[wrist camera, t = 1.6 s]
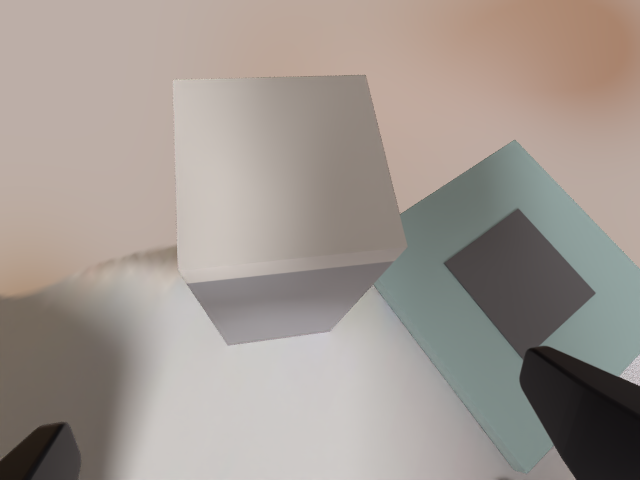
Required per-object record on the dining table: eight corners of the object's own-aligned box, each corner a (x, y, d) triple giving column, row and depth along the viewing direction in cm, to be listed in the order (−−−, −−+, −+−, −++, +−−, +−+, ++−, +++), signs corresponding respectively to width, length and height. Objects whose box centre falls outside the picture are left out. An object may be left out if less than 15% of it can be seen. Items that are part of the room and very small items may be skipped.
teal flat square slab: (663, 314, 23) (681, 310, 22) (514, 470, 19) (528, 474, 18) (506, 148, 26) (515, 138, 25) (348, 251, 22) (352, 244, 21)
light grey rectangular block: (329, 331, 20) (407, 246, 9) (228, 345, 19) (177, 270, 8) (315, 239, 22) (365, 74, 11) (221, 248, 21) (172, 79, 10)
